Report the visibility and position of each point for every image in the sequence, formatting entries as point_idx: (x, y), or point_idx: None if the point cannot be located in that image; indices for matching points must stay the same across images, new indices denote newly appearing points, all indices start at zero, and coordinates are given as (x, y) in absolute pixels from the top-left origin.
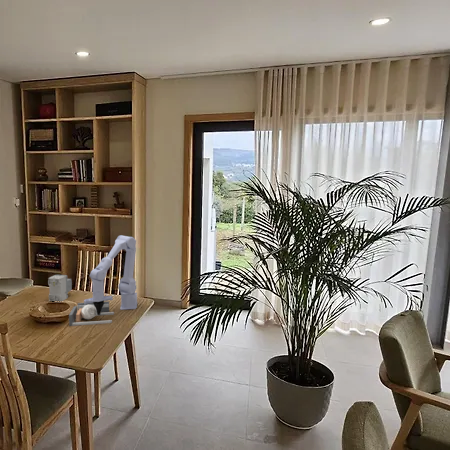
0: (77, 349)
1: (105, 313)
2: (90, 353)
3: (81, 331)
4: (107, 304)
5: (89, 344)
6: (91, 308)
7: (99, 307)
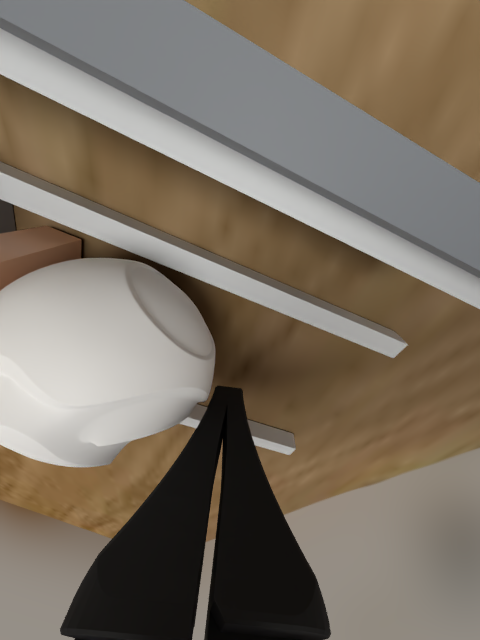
0: (112, 510)
1: (320, 325)
2: None
3: None
4: (464, 299)
5: None
6: (121, 447)
7: (216, 531)
